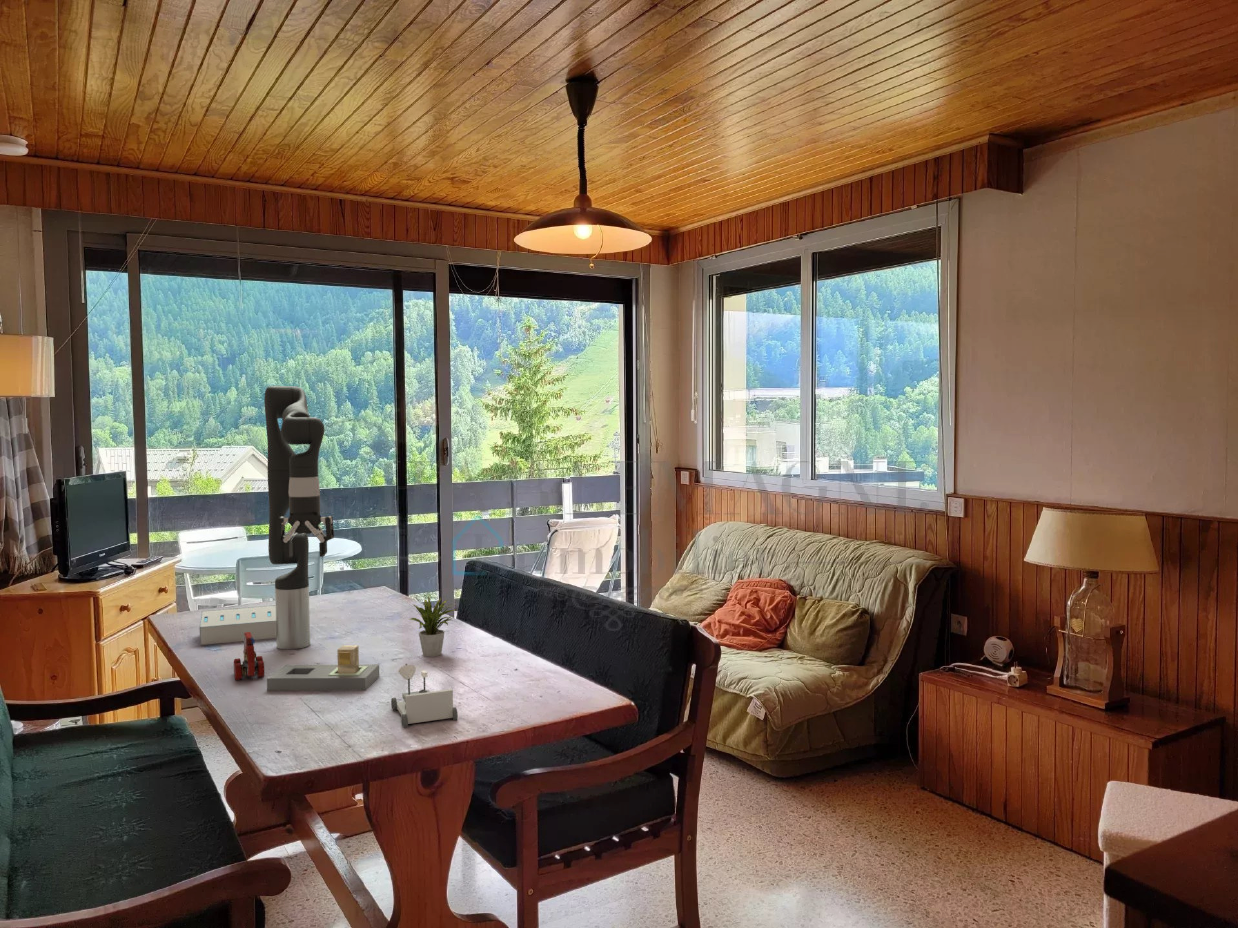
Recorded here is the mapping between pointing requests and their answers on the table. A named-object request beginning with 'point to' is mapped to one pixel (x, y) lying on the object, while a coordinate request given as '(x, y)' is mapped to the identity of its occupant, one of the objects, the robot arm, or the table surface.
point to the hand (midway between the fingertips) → (305, 556)
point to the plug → (348, 659)
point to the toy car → (423, 702)
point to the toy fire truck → (248, 660)
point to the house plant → (432, 627)
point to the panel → (321, 678)
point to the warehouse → (237, 624)
